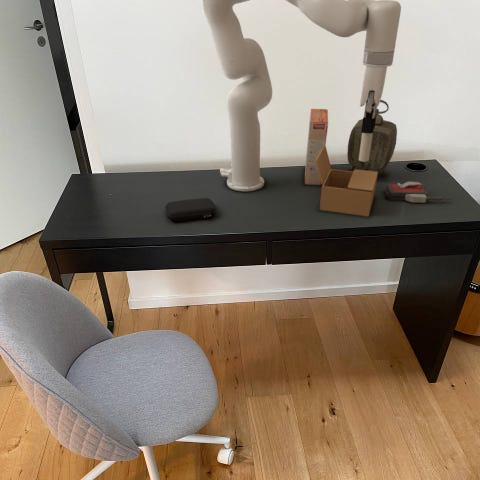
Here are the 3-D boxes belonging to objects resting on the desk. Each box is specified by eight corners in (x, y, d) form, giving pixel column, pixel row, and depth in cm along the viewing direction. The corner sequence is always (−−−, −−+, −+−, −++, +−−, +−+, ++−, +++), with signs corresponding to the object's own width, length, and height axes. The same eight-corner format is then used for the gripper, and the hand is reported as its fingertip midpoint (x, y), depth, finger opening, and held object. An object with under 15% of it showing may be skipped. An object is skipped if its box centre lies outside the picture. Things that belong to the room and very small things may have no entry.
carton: (319, 210, 152) (322, 183, 146) (327, 192, 162) (330, 166, 157) (368, 217, 148) (373, 190, 143) (373, 198, 158) (378, 171, 153)
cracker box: (322, 186, 166) (328, 122, 152) (304, 185, 166) (309, 121, 153) (322, 169, 176) (328, 108, 163) (305, 168, 177) (310, 107, 164)
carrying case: (169, 225, 145) (218, 219, 148) (168, 216, 143) (218, 210, 146) (164, 209, 153) (211, 204, 156) (163, 200, 151) (211, 195, 154)
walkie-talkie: (386, 203, 155) (450, 204, 155) (388, 190, 153) (454, 191, 152) (381, 191, 162) (443, 192, 161) (383, 178, 159) (446, 179, 159)
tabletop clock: (390, 174, 173) (404, 98, 157) (384, 184, 166) (399, 106, 150) (349, 167, 177) (359, 93, 162) (342, 177, 171) (352, 101, 155)
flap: (322, 184, 147) (321, 184, 147) (330, 166, 157) (329, 166, 157) (316, 160, 143) (315, 160, 143) (325, 144, 153) (324, 144, 153)
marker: (357, 161, 143) (364, 110, 134) (359, 157, 146) (365, 107, 137) (368, 162, 143) (375, 111, 134) (369, 158, 145) (377, 108, 136)
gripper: (367, 50, 134) (358, 120, 146) (359, 64, 122) (350, 139, 134) (395, 51, 132) (384, 122, 144) (390, 65, 120) (378, 141, 132)
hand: (367, 130), depth 139 cm, fingers closed on marker, 3 cm apart
